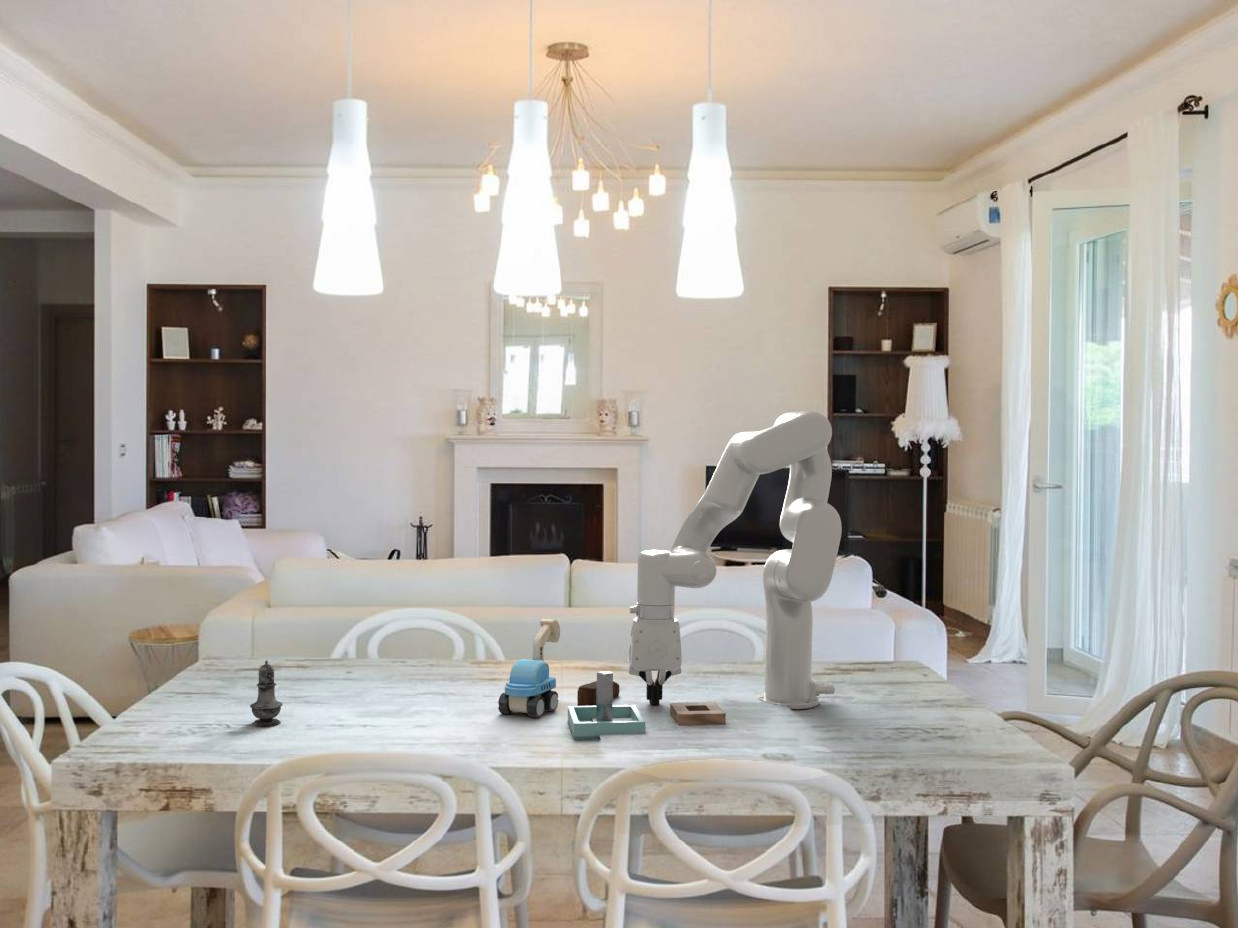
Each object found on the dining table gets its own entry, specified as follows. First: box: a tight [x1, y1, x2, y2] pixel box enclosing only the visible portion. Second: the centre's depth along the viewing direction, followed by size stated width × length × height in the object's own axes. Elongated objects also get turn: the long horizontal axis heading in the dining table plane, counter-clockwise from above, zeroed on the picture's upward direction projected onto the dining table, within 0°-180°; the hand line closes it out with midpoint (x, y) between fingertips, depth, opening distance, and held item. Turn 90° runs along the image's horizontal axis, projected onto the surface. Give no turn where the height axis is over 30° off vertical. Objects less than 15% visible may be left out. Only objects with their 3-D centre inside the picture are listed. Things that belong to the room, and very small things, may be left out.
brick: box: [576, 680, 620, 706], centre depth 235 cm, size 11×4×5 cm, turn 151°
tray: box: [567, 704, 646, 741], centre depth 216 cm, size 13×13×3 cm
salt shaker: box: [249, 659, 283, 728], centre depth 217 cm, size 6×6×12 cm
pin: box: [595, 670, 614, 722], centre depth 216 cm, size 3×3×10 cm
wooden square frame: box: [669, 701, 727, 726], centre depth 221 cm, size 9×9×3 cm
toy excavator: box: [497, 618, 561, 719], centre depth 231 cm, size 9×17×17 cm, turn 155°
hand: (654, 703), depth 232 cm, fingers closed
